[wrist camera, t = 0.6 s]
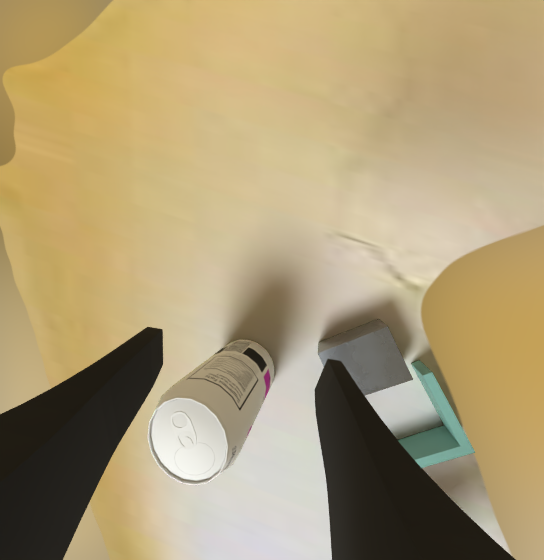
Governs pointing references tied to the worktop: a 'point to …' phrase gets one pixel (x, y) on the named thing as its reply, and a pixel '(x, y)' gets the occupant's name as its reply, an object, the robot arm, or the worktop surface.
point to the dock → (442, 439)
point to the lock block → (367, 356)
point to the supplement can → (210, 413)
